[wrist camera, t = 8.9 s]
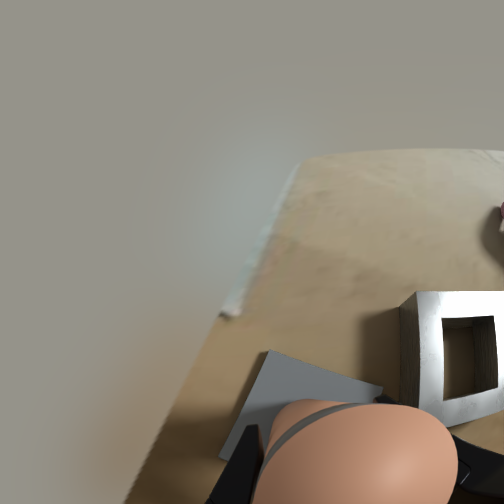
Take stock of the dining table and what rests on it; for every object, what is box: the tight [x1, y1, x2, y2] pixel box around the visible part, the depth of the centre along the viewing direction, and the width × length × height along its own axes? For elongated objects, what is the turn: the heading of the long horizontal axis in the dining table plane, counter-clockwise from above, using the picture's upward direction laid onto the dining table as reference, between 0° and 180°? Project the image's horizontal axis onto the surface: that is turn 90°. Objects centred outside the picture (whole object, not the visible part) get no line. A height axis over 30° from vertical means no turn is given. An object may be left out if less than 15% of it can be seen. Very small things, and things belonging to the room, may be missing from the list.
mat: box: [218, 350, 384, 461], centre depth 14 cm, size 8×8×1 cm
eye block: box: [399, 291, 504, 427], centre depth 13 cm, size 9×9×3 cm
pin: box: [252, 399, 458, 504], centre depth 8 cm, size 4×4×12 cm
